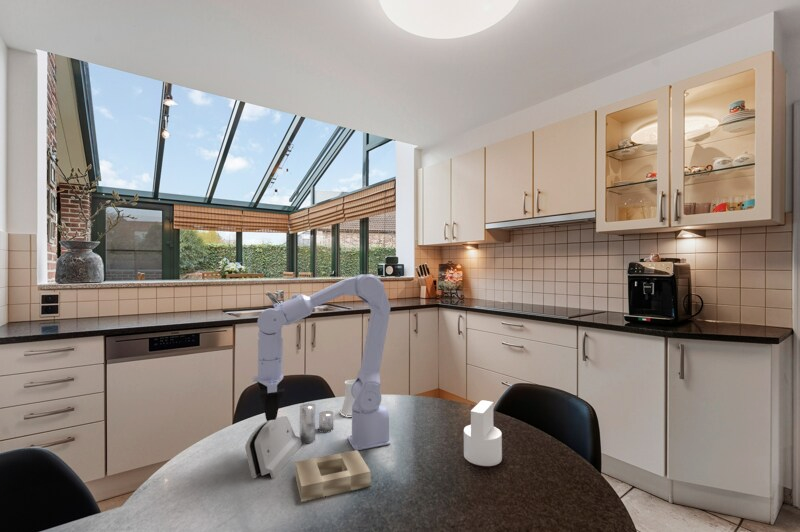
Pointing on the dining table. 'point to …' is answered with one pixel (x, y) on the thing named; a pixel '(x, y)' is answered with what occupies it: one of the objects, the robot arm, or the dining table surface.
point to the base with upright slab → (482, 437)
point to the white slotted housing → (271, 447)
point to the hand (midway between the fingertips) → (270, 414)
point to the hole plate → (331, 475)
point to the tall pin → (307, 423)
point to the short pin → (326, 421)
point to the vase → (348, 399)
